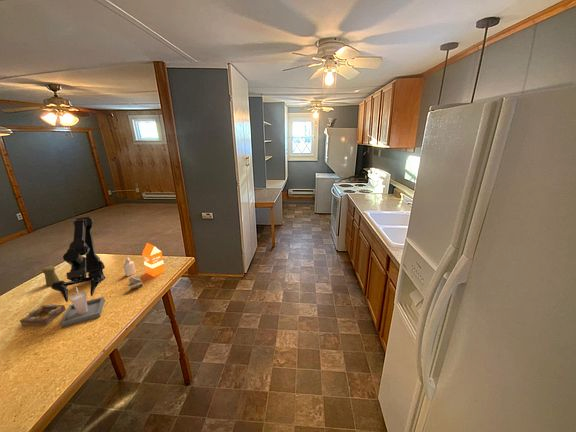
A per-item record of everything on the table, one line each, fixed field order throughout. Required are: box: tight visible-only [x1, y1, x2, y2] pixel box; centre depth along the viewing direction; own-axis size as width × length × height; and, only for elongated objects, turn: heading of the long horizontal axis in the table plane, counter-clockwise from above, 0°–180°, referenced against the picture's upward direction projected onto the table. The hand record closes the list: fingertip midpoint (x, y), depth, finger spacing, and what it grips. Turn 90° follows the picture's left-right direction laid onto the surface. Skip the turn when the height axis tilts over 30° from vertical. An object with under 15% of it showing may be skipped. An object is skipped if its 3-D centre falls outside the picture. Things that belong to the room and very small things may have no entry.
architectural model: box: [127, 274, 144, 290], centre depth 135 cm, size 3×7×7 cm, turn 134°
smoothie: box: [68, 286, 88, 314], centre depth 114 cm, size 6×6×14 cm
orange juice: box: [142, 242, 166, 278], centre depth 150 cm, size 8×9×20 cm
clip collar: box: [19, 303, 66, 327], centre depth 113 cm, size 11×11×4 cm
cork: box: [42, 265, 61, 287], centre depth 138 cm, size 6×6×11 cm
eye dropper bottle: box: [123, 256, 137, 277], centre depth 148 cm, size 4×6×12 cm
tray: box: [60, 296, 105, 328], centre depth 116 cm, size 14×14×2 cm
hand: (79, 298), depth 112 cm, fingers open, 9 cm apart
